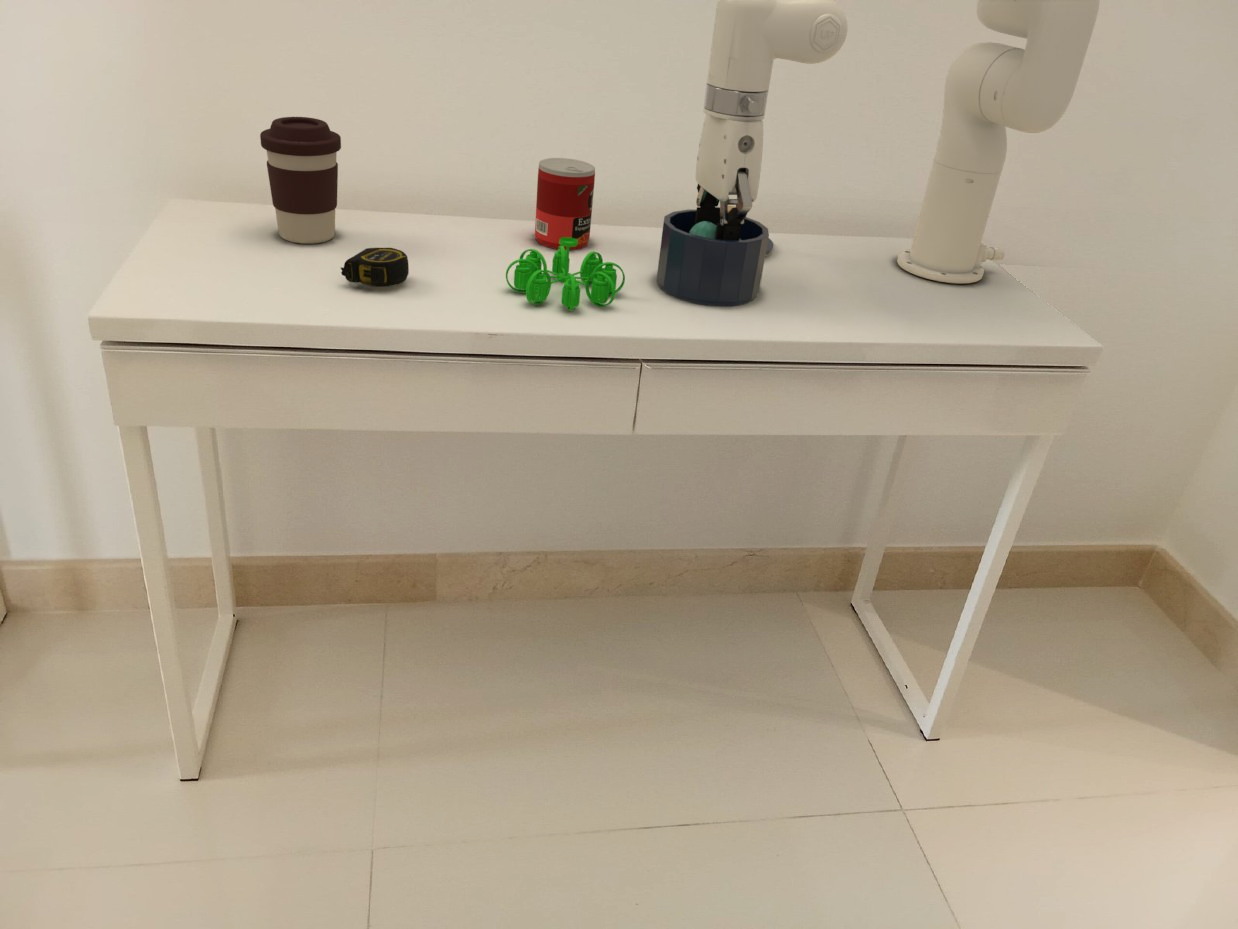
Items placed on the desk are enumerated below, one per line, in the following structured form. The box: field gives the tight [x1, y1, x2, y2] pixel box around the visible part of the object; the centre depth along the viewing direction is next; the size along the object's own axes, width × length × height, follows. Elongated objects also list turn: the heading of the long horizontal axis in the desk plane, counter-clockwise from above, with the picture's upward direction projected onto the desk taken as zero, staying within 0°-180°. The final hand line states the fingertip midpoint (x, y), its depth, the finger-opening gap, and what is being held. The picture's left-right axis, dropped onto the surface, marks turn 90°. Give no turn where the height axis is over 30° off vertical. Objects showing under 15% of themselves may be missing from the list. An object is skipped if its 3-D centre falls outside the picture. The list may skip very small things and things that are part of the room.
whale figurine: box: [689, 221, 741, 240], centre depth 129 cm, size 6×7×4 cm
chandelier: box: [505, 237, 626, 312], centre depth 124 cm, size 15×15×7 cm
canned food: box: [534, 157, 596, 251], centre depth 140 cm, size 8×8×11 cm
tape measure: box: [340, 247, 410, 288], centre depth 121 cm, size 7×7×4 cm
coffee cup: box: [259, 116, 342, 244], centre depth 131 cm, size 10×10×15 cm
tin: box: [656, 208, 770, 308], centre depth 130 cm, size 14×14×8 cm
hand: (714, 244), depth 129 cm, fingers open, 6 cm apart
